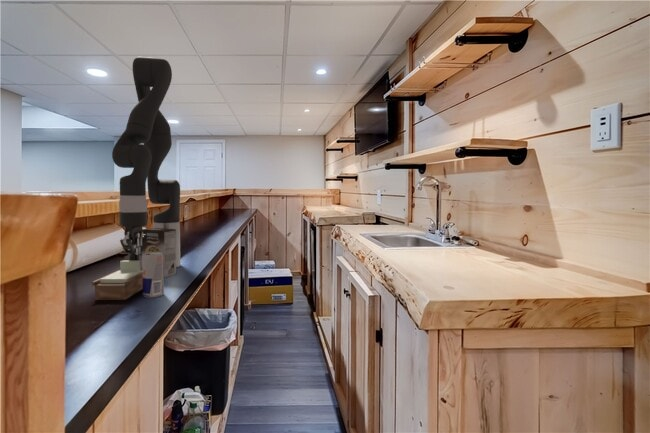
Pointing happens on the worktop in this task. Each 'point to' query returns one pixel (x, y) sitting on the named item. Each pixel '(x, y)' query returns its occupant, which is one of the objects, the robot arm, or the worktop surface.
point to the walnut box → (117, 288)
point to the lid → (124, 272)
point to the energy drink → (152, 274)
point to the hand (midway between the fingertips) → (134, 266)
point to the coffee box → (162, 247)
